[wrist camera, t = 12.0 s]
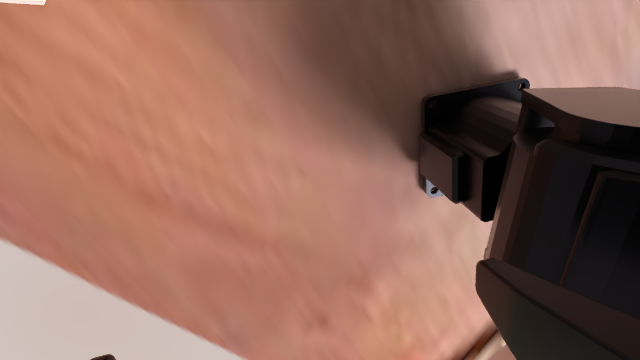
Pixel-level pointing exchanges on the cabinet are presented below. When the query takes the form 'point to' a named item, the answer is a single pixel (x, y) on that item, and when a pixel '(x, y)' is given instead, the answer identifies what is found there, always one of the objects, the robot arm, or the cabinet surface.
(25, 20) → the cabinet surface
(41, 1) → the carton
